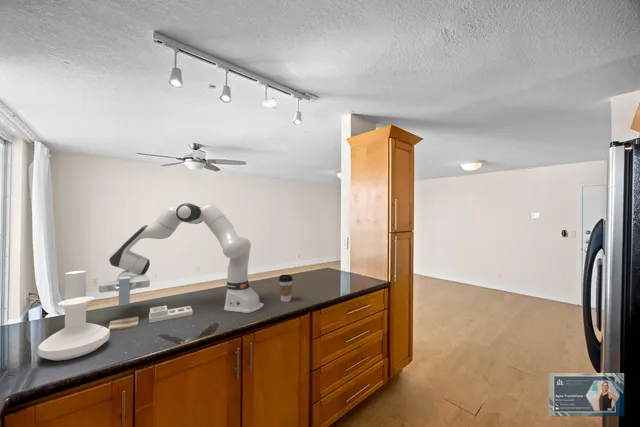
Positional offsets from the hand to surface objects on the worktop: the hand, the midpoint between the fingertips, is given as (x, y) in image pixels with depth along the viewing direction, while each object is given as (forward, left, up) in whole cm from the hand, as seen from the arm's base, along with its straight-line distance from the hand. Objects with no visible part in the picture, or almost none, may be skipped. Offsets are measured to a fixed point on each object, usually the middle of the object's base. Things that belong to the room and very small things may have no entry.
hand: (124, 288), depth 123 cm
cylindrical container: (+20, +11, -17) cm, 28 cm away
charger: (+1, 0, -7) cm, 7 cm away
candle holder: (-10, +22, -17) cm, 30 cm away
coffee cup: (-48, -64, -17) cm, 82 cm away
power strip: (-9, -17, -17) cm, 26 cm away
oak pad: (+1, 0, -17) cm, 17 cm away
